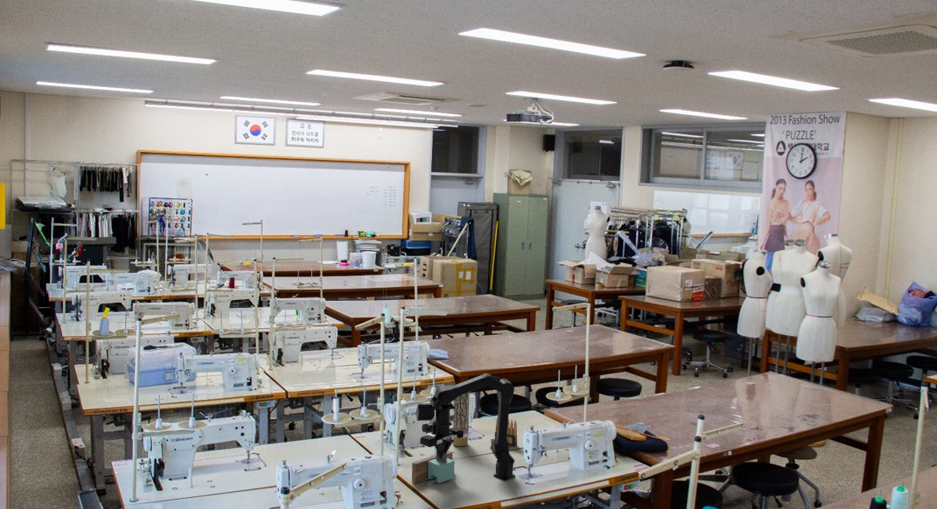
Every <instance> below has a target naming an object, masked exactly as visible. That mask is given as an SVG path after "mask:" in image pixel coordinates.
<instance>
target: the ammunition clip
mask: <svg viewBox="0 0 937 509" xmlns="http://www.w3.org/2000/svg"><path fill="white" fill-rule="evenodd" d="M497 419H498V416H497V418H496V420H495V421H496V424H495V431H494V438H495V437H496V433H497ZM517 426H518V425H517V420H516V419H515V420H514V422H513V419H511V420H510V418H508V431H507V441H508V445H509V447H513V448H517V447H518V433H517V432H518V427H517Z"/></svg>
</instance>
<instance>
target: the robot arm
mask: <svg viewBox="0 0 937 509" xmlns="http://www.w3.org/2000/svg"><path fill="white" fill-rule="evenodd" d="M486 386H487V387H490V388H492V389H494V390H495V391H496V395H497V400H498V408H497V417H498V419H497V418H496V421H497V433H496V437H495V436H494V439H493V438H491V439H490V443H491V444H490V448H489V449H490V450H491V452H492V454H493V455H494V457H495V458H496V464H495V473H494V474H493V477H495V478H498V479H500V480H503V481H507V480H511V479H513V478H515V477H516V475H515V474H513V473H514V464H515V461H516V460H515V459H514V457H513V456H512V454H511V453H510V446H509V445H508V441H507V431H508V419H510V416H509V415H510V404H511V401H512V400H513V397H514V393H515V387H514V384H512V383H511V381H509V380H508V379H506V378H499V377H497V376H494V375H491V374H489V373H488V372H487V373H485V372H484V373H483V374H481V375H479V376H476V377H474V378H471V379H468V380H465V381H463V382H460V383H457V384H453V385H452V384H451V385H449V384H448V385H443V386H439V387H437V388H436V390H435V391H434V395H433V397H432V398H431V399H430V400H429V402H428V403H423V402H422V403H421V402H418V403H417V406H416V409H415V416H416V417H415V418H416V421H417V422H423V421H424V422H425V421H426V423H423V424H421V431H422V433H425V435H423V436H421V437H420V439H419V444H420V445H422V446H425V447H428V448H433V447H434V448H435V451H437V454H438V456H439V458H440V459H441V458H442V455H443V452H444V453H447V451H450V447H451V446H452V444H453V442H454V440H453V436H455V435H457V436H456V437H457V438H462V437H463V435H464V432H463V431H462V430H461V429H459V428H456V427H453V422H451V410H454V409H455V406H454V403H452V402H454V400H455V399H456V398H457V397H459V396H460V395H463V394H465V393H468V392H469V393H470V392H473V391H476V390H478V389H481V388H484V387H486ZM434 419H435V420H434ZM432 420H434V421H433V422H432V423H430V424H429V423H428V422H427V421H432ZM451 426H452V427H451ZM430 434H431V435H430ZM432 435H433V436H432Z"/></svg>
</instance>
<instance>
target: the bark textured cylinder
mask: <svg viewBox="0 0 937 509" xmlns="http://www.w3.org/2000/svg"><path fill="white" fill-rule="evenodd" d="M453 405H454V406H455V409H453V413H454V412H455V413H454V415H452V416H453V419H452V421H453V422H452V428H453V427H456V428H459V429H461V430H462V431H463V432H464V435H463V437H462V438H457V437H456V436H457V435H455V436H452V440H454V442H453V443H452V444H453V446H456V447H465V446H467V445H468V440H469V418H470V417H469V416H470V415H469V412H470V392H468V393H465V394H463V395H460V396H459V397H457V398H456V399H455V400H454V401H453Z"/></svg>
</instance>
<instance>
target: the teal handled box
mask: <svg viewBox="0 0 937 509" xmlns="http://www.w3.org/2000/svg"><path fill="white" fill-rule="evenodd" d="M435 451H436V450H435ZM435 455H436V459H433V460H430V461H428V478H429V479H428V480H432V479H435V478H437V483H438V484H441V483H443V482H446V481H450V480H452V479H454V478H455V476H454V473H455V460H453V459H452V460H451V459H449V458H447V454H446V453H444V452H443V455H442V458H441V459H440V458H439V456H438V454H437V451H436V452H435Z"/></svg>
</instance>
